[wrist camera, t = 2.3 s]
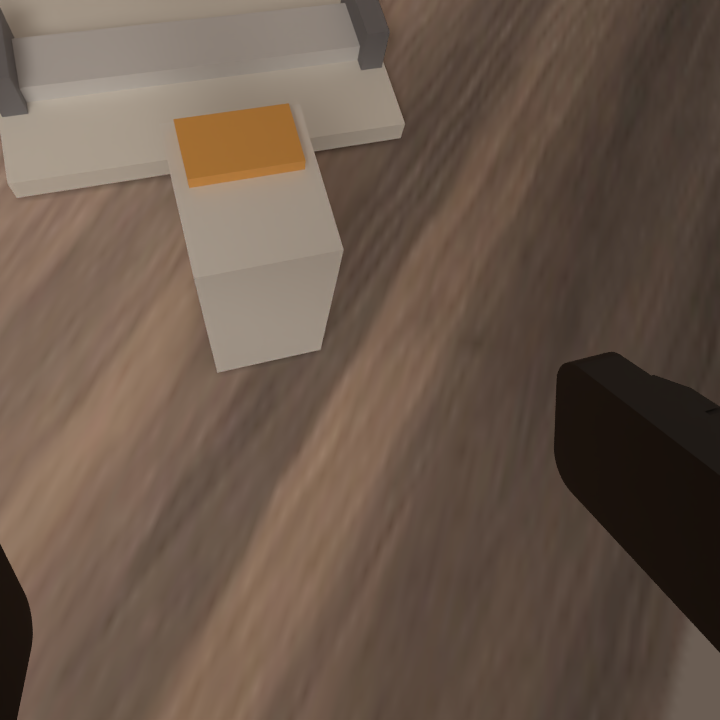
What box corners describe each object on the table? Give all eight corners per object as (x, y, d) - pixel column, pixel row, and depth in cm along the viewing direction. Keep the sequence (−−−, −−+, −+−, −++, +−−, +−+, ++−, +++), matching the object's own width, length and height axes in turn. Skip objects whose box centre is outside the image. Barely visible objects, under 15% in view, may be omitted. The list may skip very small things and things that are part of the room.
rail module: (217, 372, 30) (192, 271, 20) (191, 259, 32) (156, 114, 22) (320, 349, 31) (345, 242, 21) (290, 241, 33) (300, 94, 23)
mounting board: (16, 197, 32) (-14, 151, 28) (-12, 7, 35) (-43, -56, 31) (400, 138, 36) (414, 90, 32) (343, -27, 39) (351, -86, 36)
